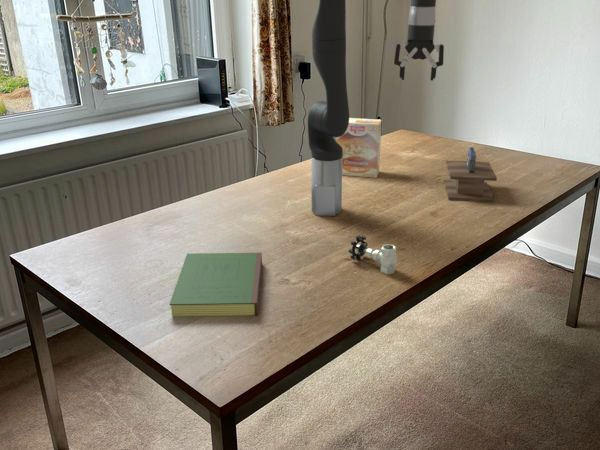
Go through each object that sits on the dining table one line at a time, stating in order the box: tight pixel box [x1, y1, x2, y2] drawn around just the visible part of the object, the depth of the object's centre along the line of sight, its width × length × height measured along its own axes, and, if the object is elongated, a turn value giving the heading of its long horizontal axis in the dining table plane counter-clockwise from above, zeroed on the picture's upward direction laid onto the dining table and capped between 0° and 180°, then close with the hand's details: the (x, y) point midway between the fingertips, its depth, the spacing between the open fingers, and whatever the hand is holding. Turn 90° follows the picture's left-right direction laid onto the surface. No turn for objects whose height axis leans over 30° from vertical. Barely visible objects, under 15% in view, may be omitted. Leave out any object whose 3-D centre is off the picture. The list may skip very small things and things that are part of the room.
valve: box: [348, 235, 398, 275], centre depth 149 cm, size 7×7×12 cm
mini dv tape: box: [466, 147, 477, 173], centre depth 193 cm, size 8×2×6 cm, turn 171°
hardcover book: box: [169, 252, 263, 317], centre depth 141 cm, size 25×19×4 cm
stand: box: [443, 160, 498, 203], centre depth 196 cm, size 16×14×8 cm
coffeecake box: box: [335, 117, 383, 178], centre depth 212 cm, size 15×7×20 cm, turn 76°
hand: (417, 79), depth 179 cm, fingers open, 8 cm apart
